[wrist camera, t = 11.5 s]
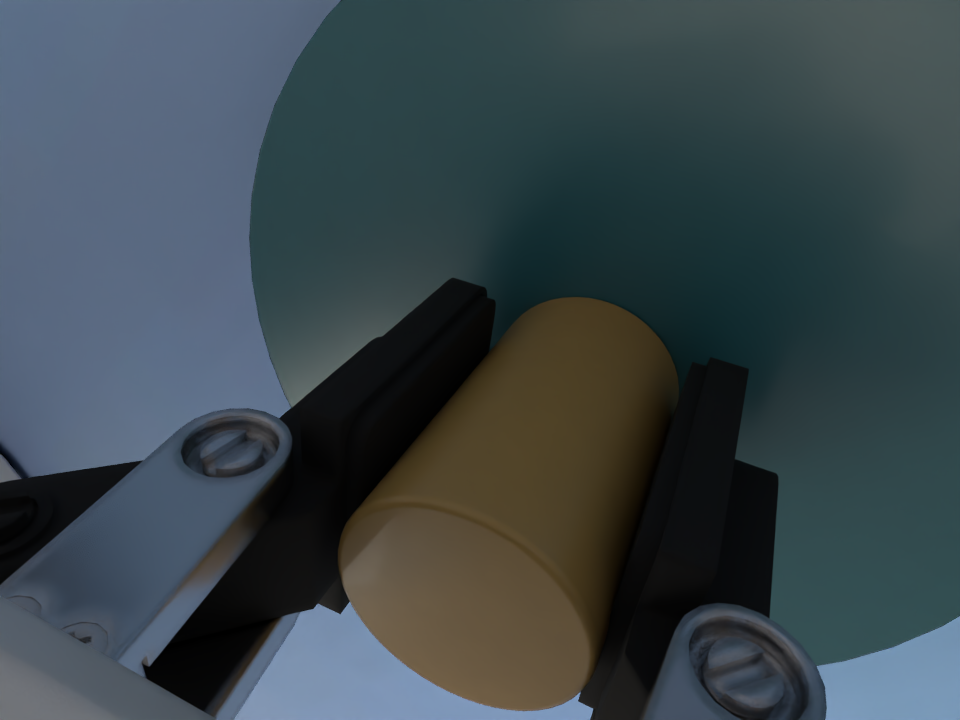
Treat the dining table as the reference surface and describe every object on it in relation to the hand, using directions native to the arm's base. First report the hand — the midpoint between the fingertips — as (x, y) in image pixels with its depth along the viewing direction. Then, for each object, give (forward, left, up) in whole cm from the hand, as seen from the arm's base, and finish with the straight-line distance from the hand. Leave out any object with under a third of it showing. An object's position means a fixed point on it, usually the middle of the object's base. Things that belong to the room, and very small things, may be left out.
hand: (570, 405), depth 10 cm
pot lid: (0, 0, -1) cm, 1 cm away
